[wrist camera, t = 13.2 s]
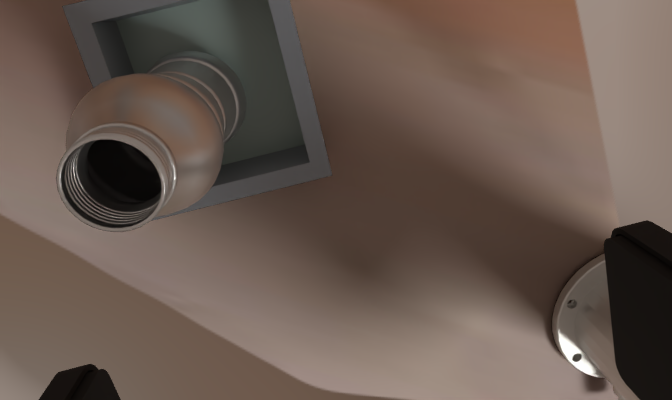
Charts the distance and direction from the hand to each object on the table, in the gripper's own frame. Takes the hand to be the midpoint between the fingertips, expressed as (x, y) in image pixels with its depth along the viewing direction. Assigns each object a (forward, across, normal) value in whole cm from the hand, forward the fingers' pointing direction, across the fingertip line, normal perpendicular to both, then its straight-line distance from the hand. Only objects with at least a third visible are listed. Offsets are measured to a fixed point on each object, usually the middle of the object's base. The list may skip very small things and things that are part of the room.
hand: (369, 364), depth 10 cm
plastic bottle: (+30, +8, -3) cm, 31 cm away
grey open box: (+31, +6, -3) cm, 32 cm away
